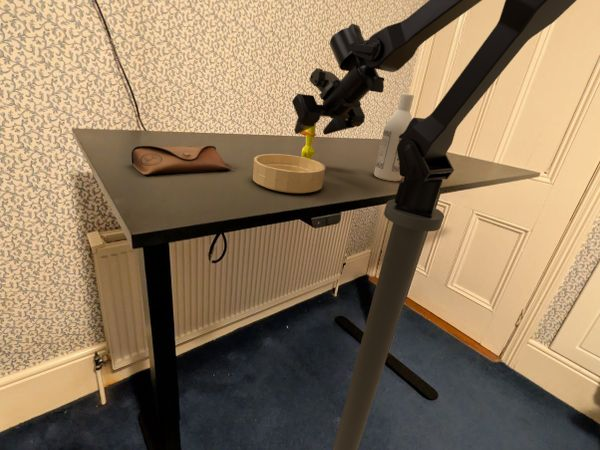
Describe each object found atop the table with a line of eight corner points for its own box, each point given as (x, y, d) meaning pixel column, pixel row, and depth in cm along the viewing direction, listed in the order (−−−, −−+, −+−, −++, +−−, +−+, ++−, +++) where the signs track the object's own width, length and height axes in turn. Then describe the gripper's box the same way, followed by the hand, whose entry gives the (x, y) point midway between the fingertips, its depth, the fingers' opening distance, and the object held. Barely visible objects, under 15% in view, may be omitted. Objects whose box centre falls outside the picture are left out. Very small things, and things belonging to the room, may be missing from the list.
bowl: (331, 185, 70) (335, 164, 68) (302, 201, 58) (306, 177, 56) (275, 170, 75) (277, 151, 73) (237, 182, 63) (239, 159, 61)
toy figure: (290, 162, 84) (295, 114, 79) (299, 161, 86) (305, 115, 82) (308, 169, 80) (315, 119, 75) (318, 168, 82) (325, 119, 77)
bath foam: (403, 178, 84) (424, 96, 76) (398, 183, 78) (421, 95, 70) (377, 172, 87) (395, 92, 79) (370, 177, 81) (389, 91, 73)
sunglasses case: (144, 174, 58) (136, 138, 58) (135, 183, 63) (128, 150, 63) (233, 169, 69) (226, 138, 69) (219, 177, 75) (213, 149, 75)
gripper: (366, 64, 75) (326, 107, 87) (303, 49, 63) (267, 102, 75) (385, 104, 72) (341, 143, 84) (324, 97, 61) (283, 143, 73)
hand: (310, 132), depth 79 cm, fingers open, 9 cm apart
